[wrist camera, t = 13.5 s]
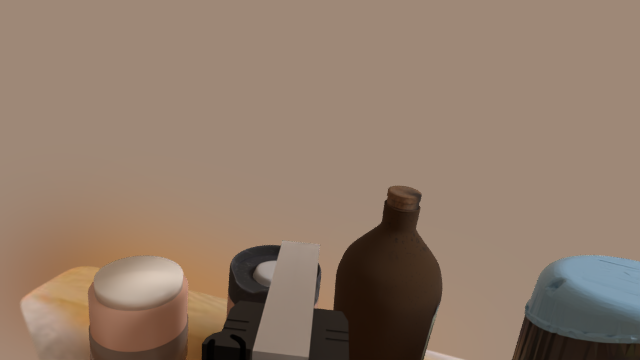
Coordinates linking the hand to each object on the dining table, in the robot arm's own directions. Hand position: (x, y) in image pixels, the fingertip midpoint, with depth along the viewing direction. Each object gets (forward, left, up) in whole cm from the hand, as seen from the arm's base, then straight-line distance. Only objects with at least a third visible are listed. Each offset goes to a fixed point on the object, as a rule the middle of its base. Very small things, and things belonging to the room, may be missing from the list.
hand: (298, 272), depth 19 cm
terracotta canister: (0, -27, -29) cm, 40 cm away
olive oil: (-21, -16, -30) cm, 40 cm away
